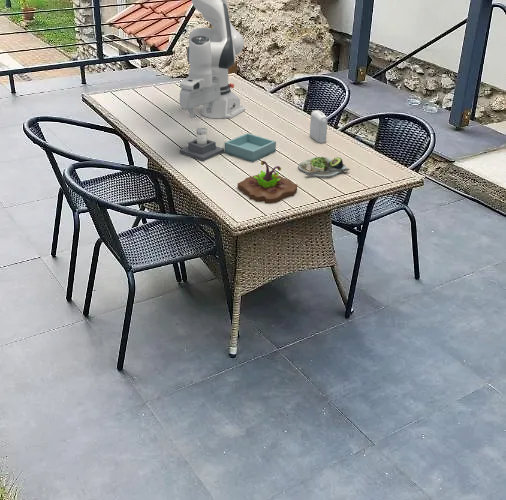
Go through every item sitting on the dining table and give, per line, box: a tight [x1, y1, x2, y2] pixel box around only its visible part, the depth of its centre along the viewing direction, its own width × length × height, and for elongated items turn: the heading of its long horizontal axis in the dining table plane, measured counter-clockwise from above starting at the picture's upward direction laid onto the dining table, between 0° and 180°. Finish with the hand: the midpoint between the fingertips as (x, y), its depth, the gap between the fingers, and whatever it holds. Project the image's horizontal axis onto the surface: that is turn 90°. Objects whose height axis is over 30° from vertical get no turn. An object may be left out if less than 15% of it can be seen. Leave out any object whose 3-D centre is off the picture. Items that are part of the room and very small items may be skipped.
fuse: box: [196, 127, 208, 146], centre depth 266 cm, size 4×4×10 cm
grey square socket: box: [179, 138, 225, 162], centre depth 268 cm, size 13×13×4 cm
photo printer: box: [309, 109, 328, 144], centre depth 282 cm, size 10×4×12 cm, turn 20°
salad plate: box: [297, 156, 350, 178], centre depth 255 cm, size 19×18×5 cm
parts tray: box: [224, 132, 277, 163], centre depth 269 cm, size 15×15×4 cm
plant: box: [237, 160, 298, 205], centre depth 236 cm, size 20×20×11 cm
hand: (201, 115), depth 260 cm, fingers open, 8 cm apart
